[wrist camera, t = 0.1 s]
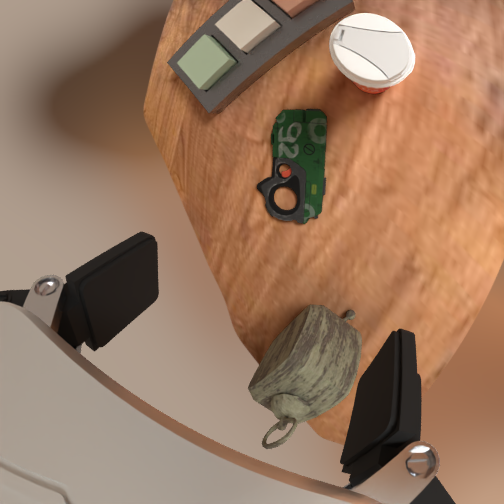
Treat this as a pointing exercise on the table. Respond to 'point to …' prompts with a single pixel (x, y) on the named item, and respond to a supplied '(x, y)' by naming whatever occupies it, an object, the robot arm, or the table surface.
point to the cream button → (247, 25)
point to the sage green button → (206, 62)
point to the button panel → (265, 54)
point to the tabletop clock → (307, 368)
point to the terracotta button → (294, 6)
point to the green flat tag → (298, 163)
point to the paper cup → (371, 52)
